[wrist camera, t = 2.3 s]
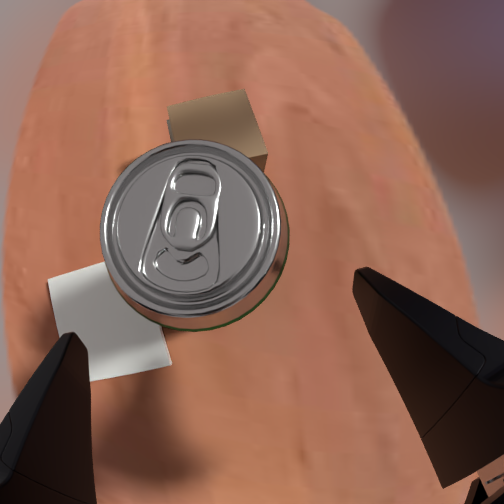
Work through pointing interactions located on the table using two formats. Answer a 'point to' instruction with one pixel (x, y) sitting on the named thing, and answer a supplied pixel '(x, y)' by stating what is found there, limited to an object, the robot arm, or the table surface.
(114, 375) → the coaster
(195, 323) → the soda can
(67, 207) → the table surface
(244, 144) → the letter cube
